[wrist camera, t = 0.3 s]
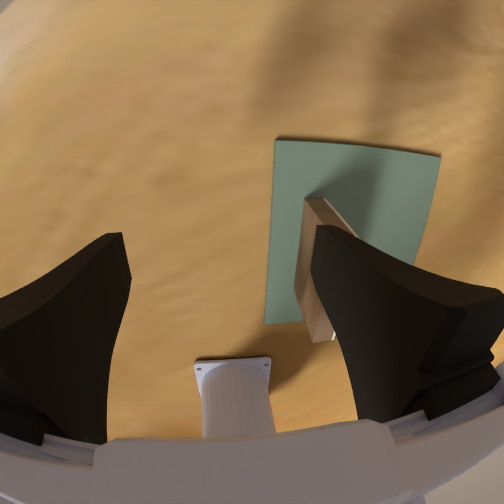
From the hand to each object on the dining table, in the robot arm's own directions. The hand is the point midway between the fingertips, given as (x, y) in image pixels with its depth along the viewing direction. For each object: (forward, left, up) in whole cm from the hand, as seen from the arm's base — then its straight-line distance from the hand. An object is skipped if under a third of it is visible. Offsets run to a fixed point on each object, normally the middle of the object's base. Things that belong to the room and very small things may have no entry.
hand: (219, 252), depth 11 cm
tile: (-6, -7, -9) cm, 13 cm away
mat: (-6, -11, -10) cm, 16 cm away
